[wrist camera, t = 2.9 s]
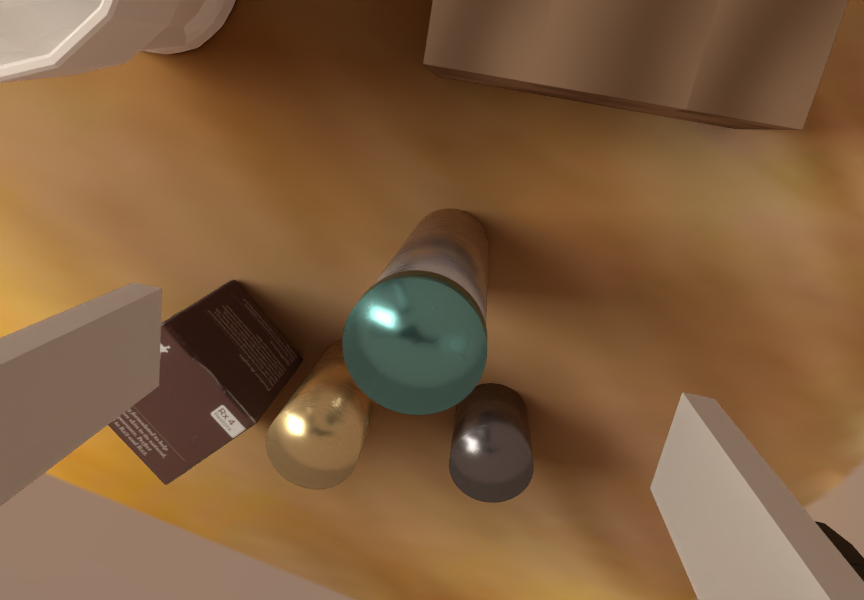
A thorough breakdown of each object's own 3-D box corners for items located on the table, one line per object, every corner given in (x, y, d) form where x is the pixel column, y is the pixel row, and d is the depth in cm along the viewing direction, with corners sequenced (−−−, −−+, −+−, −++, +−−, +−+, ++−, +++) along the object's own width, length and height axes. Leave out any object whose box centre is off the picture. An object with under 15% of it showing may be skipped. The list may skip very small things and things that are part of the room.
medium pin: (315, 396, 33) (262, 478, 25) (323, 332, 31) (269, 398, 24) (384, 410, 33) (351, 497, 25) (394, 346, 31) (362, 417, 24)
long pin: (404, 277, 30) (334, 399, 17) (416, 201, 29) (351, 266, 16) (481, 292, 30) (471, 427, 17) (496, 215, 29) (500, 294, 15)
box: (161, 334, 33) (71, 391, 26) (236, 275, 31) (162, 319, 24) (232, 413, 34) (163, 489, 27) (307, 360, 32) (256, 426, 25)
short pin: (449, 439, 33) (442, 492, 28) (462, 376, 31) (457, 421, 27) (518, 453, 32) (523, 510, 28) (534, 391, 31) (542, 439, 27)
